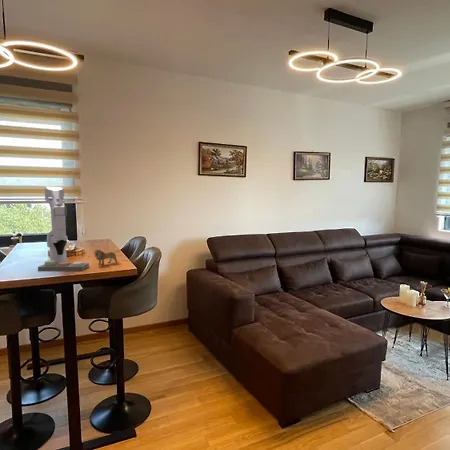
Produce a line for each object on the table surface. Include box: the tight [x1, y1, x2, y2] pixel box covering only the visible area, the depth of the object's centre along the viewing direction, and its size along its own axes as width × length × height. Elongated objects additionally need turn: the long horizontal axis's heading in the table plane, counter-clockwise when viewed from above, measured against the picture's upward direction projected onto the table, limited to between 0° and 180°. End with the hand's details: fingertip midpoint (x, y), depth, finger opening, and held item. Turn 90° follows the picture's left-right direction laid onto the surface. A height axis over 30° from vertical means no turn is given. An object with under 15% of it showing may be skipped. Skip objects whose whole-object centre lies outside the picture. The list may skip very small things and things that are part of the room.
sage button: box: [44, 259, 56, 266], centre depth 176 cm, size 4×4×3 cm
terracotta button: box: [59, 261, 71, 266], centre depth 176 cm, size 4×4×3 cm
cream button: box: [71, 261, 84, 266], centre depth 177 cm, size 4×4×3 cm
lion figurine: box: [93, 249, 118, 266], centre depth 190 cm, size 15×5×9 cm, turn 147°
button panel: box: [37, 262, 90, 272], centre depth 177 cm, size 10×22×2 cm, turn 93°
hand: (60, 254), depth 176 cm, fingers closed
